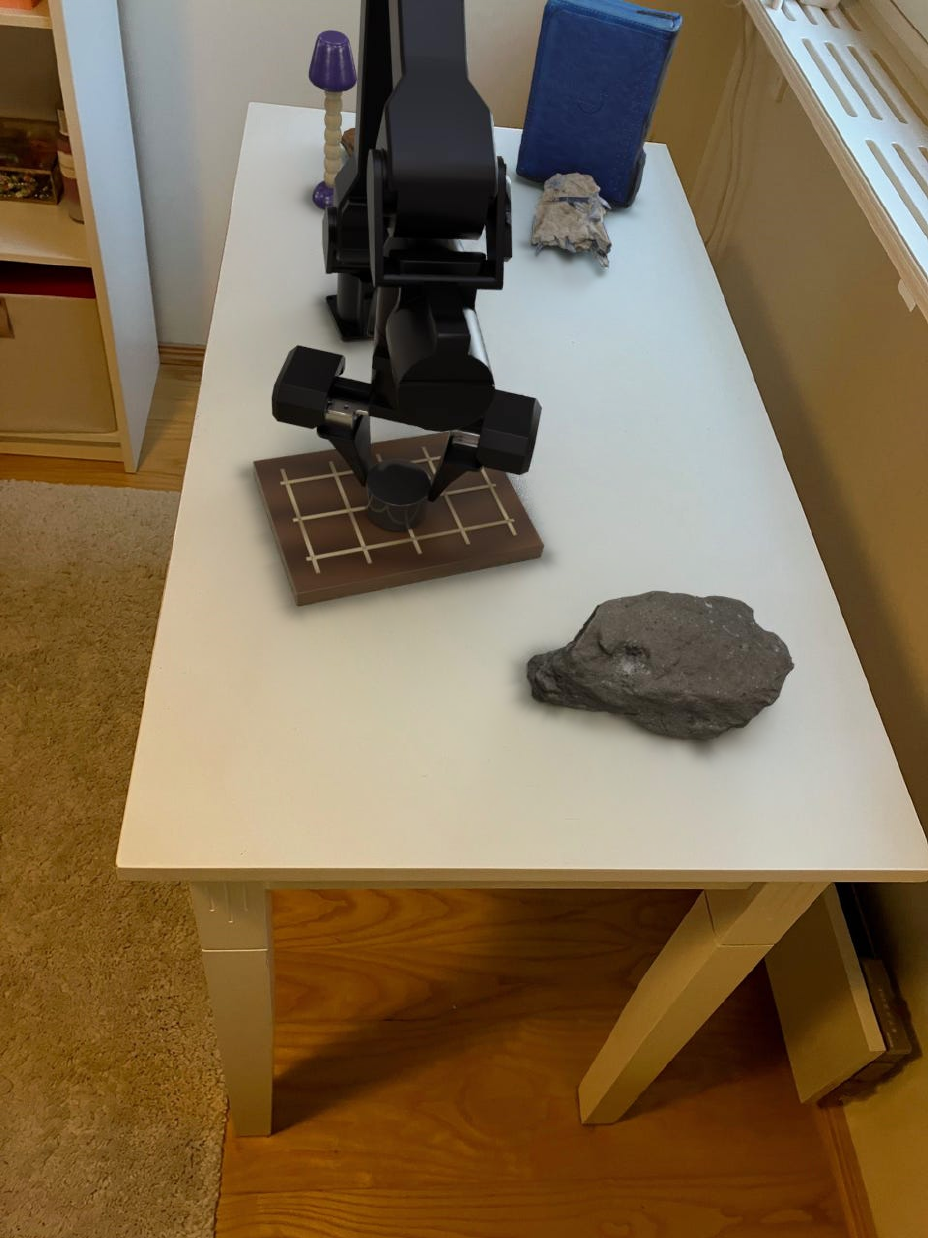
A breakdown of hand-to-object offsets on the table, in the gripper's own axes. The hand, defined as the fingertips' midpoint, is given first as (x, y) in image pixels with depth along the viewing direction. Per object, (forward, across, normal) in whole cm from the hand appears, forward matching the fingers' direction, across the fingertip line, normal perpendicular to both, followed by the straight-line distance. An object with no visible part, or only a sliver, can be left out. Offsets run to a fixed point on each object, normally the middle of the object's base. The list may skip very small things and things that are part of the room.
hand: (399, 490), depth 76 cm
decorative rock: (+3, +10, -52) cm, 53 cm away
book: (+3, -9, -55) cm, 56 cm away
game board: (+3, 0, 0) cm, 3 cm away
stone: (+3, -22, +12) cm, 25 cm away
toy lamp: (+3, +16, -42) cm, 46 cm away
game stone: (+1, 0, +1) cm, 1 cm away
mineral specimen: (+3, -10, -46) cm, 48 cm away
